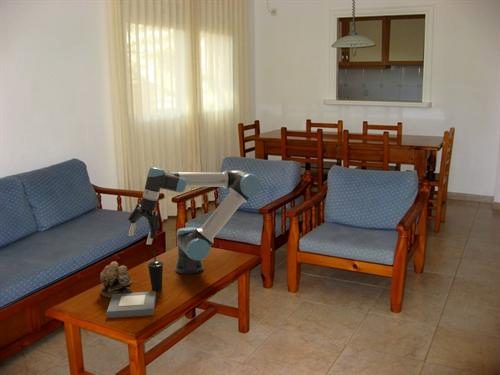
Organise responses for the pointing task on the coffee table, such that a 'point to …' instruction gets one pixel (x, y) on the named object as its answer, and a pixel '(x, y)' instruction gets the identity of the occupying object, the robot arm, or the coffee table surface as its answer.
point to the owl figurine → (115, 280)
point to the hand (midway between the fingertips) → (139, 239)
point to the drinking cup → (156, 274)
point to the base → (132, 304)
